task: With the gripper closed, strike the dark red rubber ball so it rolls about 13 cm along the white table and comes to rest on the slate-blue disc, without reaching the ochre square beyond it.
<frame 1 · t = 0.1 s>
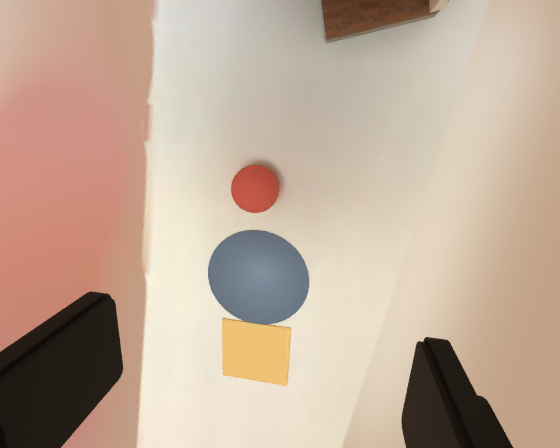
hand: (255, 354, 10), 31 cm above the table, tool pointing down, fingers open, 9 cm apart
ball: (255, 189, 38), on the table
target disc: (257, 279, 44), on the table
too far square: (255, 352, 48), on the table
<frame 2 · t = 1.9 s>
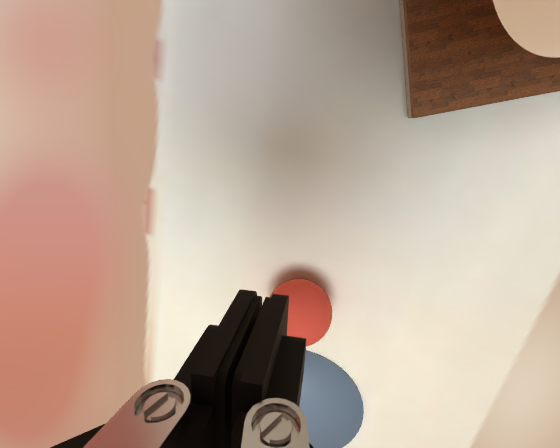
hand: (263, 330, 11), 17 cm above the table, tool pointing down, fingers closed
ball: (298, 312, 27), on the table
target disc: (294, 404, 34), on the table
display case: (485, 12, 21), on the table
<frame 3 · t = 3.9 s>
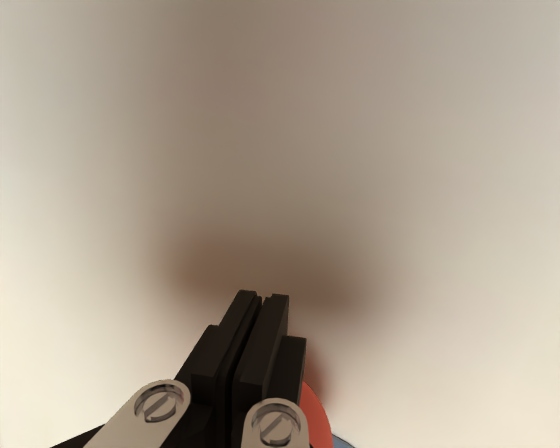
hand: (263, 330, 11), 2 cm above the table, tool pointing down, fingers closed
ball: (255, 446, 12), on the table, touching gripper
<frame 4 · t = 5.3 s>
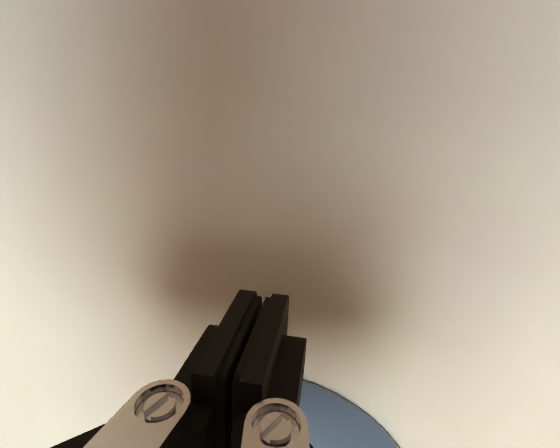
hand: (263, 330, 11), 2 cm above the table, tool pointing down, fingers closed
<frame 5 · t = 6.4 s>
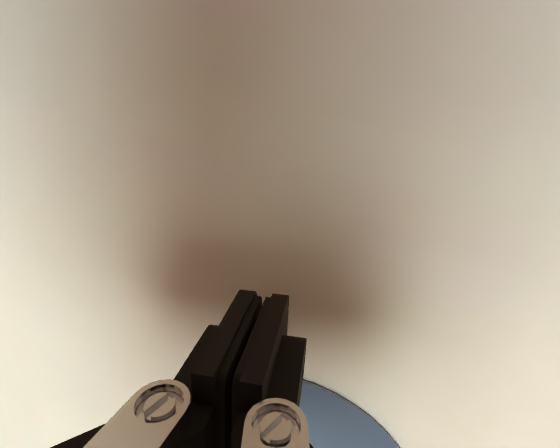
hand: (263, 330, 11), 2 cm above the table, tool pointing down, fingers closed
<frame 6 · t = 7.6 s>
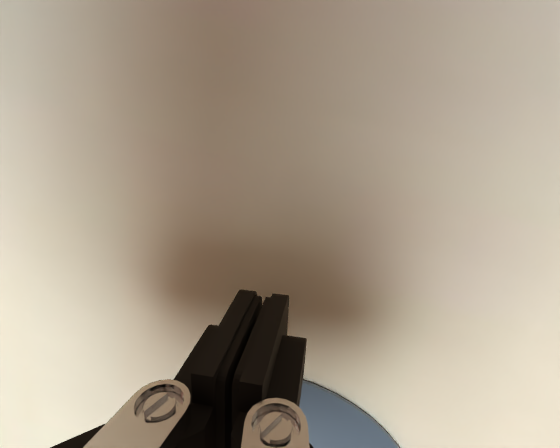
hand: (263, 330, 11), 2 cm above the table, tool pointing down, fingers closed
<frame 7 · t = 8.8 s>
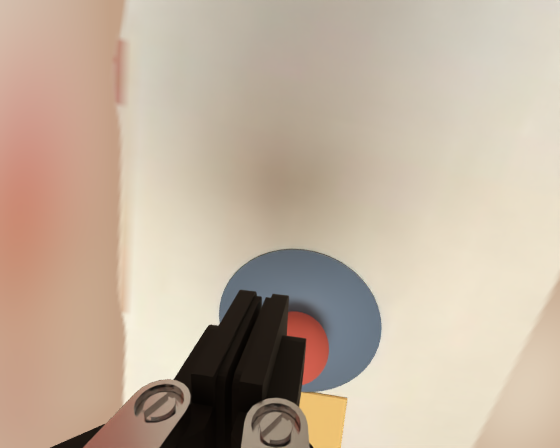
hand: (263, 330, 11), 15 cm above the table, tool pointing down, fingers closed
ball: (293, 347, 26), on the table
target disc: (297, 324, 28), on the table
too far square: (289, 429, 32), on the table
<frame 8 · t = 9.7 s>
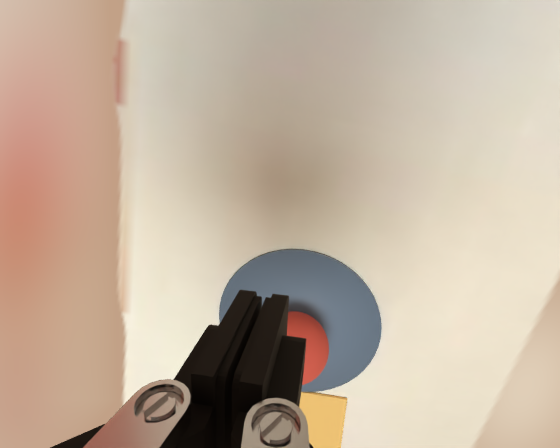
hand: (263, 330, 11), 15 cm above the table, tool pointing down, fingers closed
ball: (293, 347, 26), on the table
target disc: (297, 324, 28), on the table
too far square: (289, 429, 32), on the table
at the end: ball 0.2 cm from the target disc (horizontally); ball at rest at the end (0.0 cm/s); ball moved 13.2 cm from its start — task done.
